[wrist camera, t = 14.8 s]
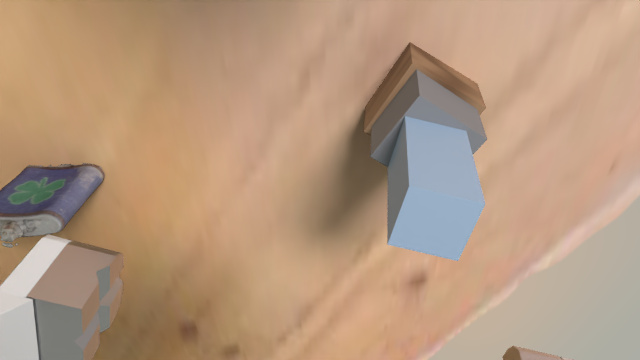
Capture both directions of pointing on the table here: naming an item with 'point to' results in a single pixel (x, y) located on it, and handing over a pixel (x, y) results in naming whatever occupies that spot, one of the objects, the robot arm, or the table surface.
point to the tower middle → (424, 115)
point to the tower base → (432, 69)
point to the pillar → (432, 190)
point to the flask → (45, 199)
